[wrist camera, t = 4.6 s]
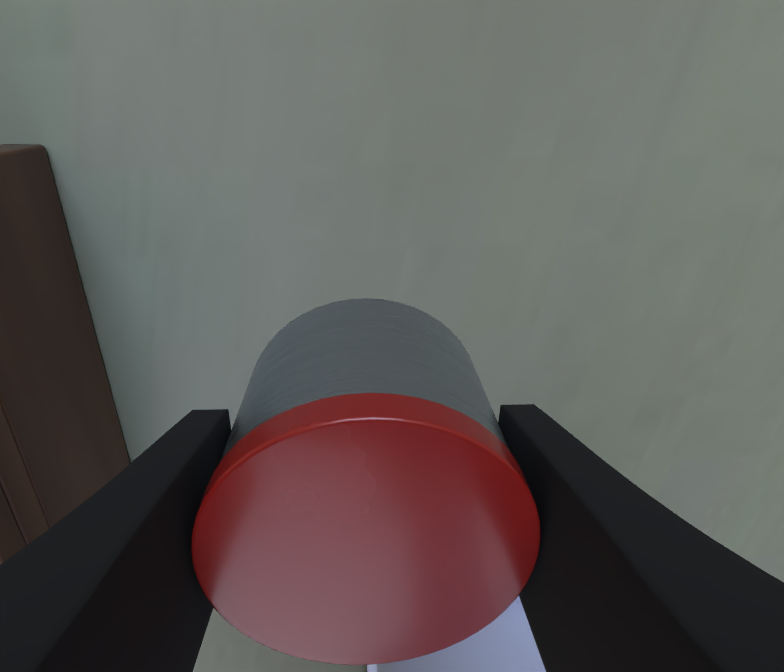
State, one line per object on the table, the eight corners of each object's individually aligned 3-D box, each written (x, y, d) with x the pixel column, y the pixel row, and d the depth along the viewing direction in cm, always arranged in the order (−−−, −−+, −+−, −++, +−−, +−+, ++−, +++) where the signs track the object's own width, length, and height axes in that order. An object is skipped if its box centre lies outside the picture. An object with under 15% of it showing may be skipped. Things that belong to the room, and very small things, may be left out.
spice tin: (491, 294, 10) (570, 414, 6) (469, 486, 12) (517, 658, 8) (234, 294, 9) (159, 421, 6) (259, 493, 12) (215, 674, 8)
